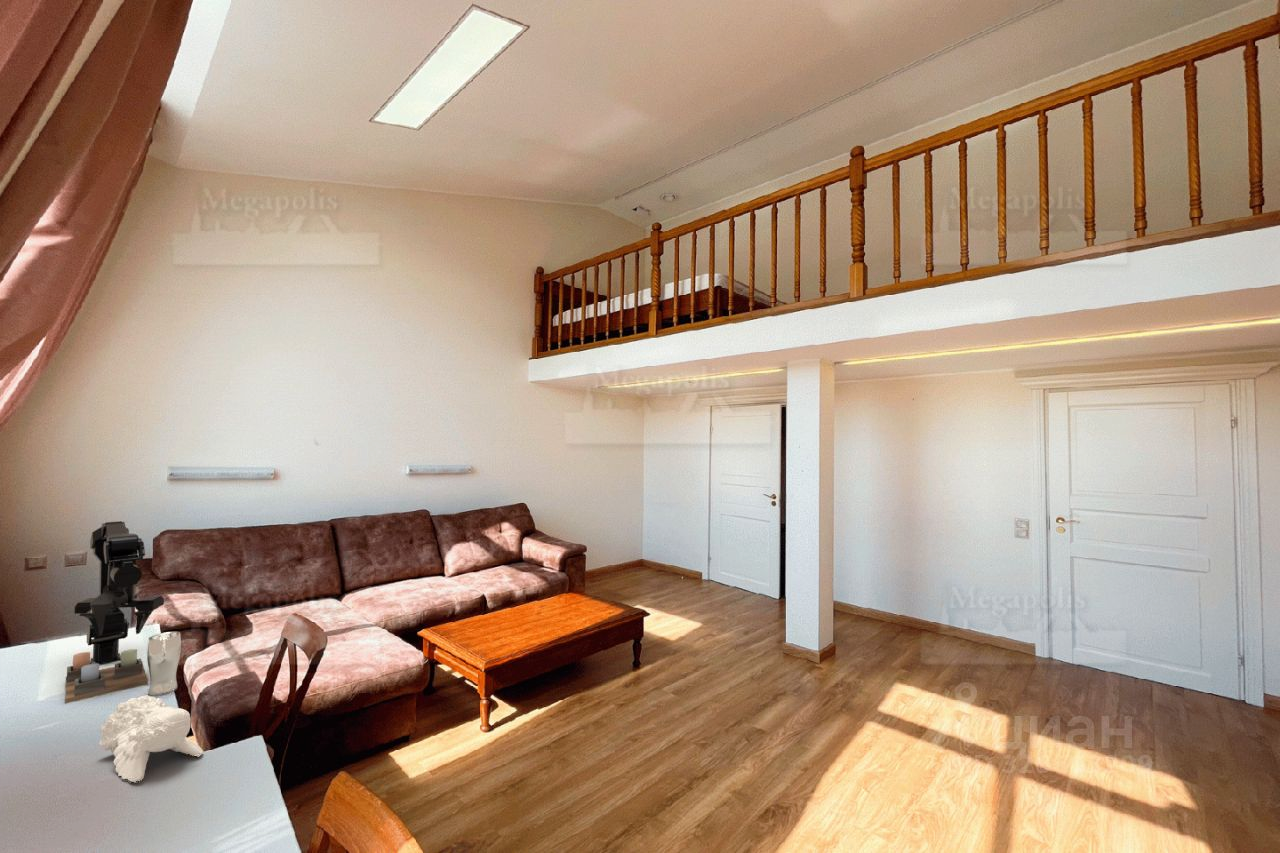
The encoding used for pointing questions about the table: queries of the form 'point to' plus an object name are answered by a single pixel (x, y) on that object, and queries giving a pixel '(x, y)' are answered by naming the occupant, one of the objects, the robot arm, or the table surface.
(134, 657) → the sage button
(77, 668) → the terracotta button
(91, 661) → the robot arm
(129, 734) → the white curly sculpture
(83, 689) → the button panel
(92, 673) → the slate button
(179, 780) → the table surface
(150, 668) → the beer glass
